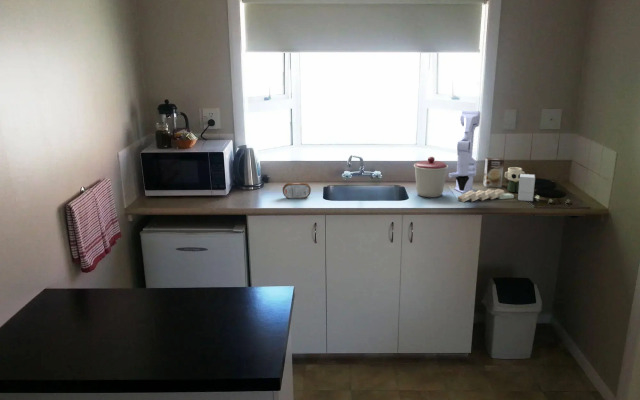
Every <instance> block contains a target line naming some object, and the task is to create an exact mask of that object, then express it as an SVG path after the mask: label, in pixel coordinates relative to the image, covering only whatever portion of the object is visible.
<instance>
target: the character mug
mask: <svg viewBox="0 0 640 400" xmlns="http://www.w3.org/2000/svg"><path fill="white" fill-rule="evenodd" d="M520 174H526V173H525V171H523V168H522V167H516V166H514V167H513V166H512V167H508V168H507V171H505V172H504V178H505V179H507V180H508V184H507V188H506V189H507V191H508V192H510V193H515V192H517V193H519V181H520Z"/></svg>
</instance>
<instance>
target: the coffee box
mask: <svg viewBox="0 0 640 400" xmlns="http://www.w3.org/2000/svg"><path fill="white" fill-rule="evenodd" d="M484 160H485V163H484V171H483V172H484V174H483V183H482V185H483V186H484V187H485V188H502V186H503V185H502V184H503V174H504V166H505V165H504V164H505V159H504V158H502V157H485V159H484Z"/></svg>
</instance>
